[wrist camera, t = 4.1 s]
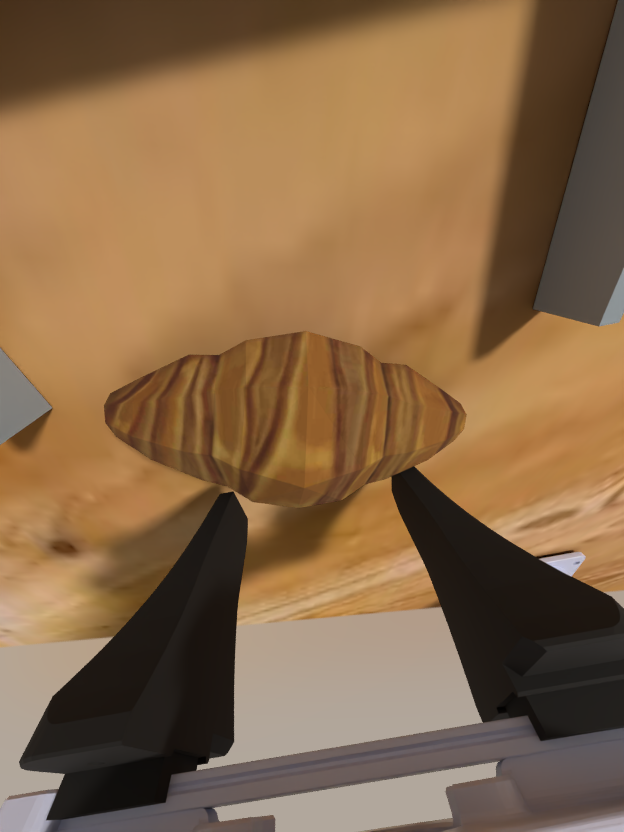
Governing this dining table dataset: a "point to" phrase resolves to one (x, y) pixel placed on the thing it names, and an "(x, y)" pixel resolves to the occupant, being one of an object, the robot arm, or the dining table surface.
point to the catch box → (570, 247)
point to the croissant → (286, 418)
